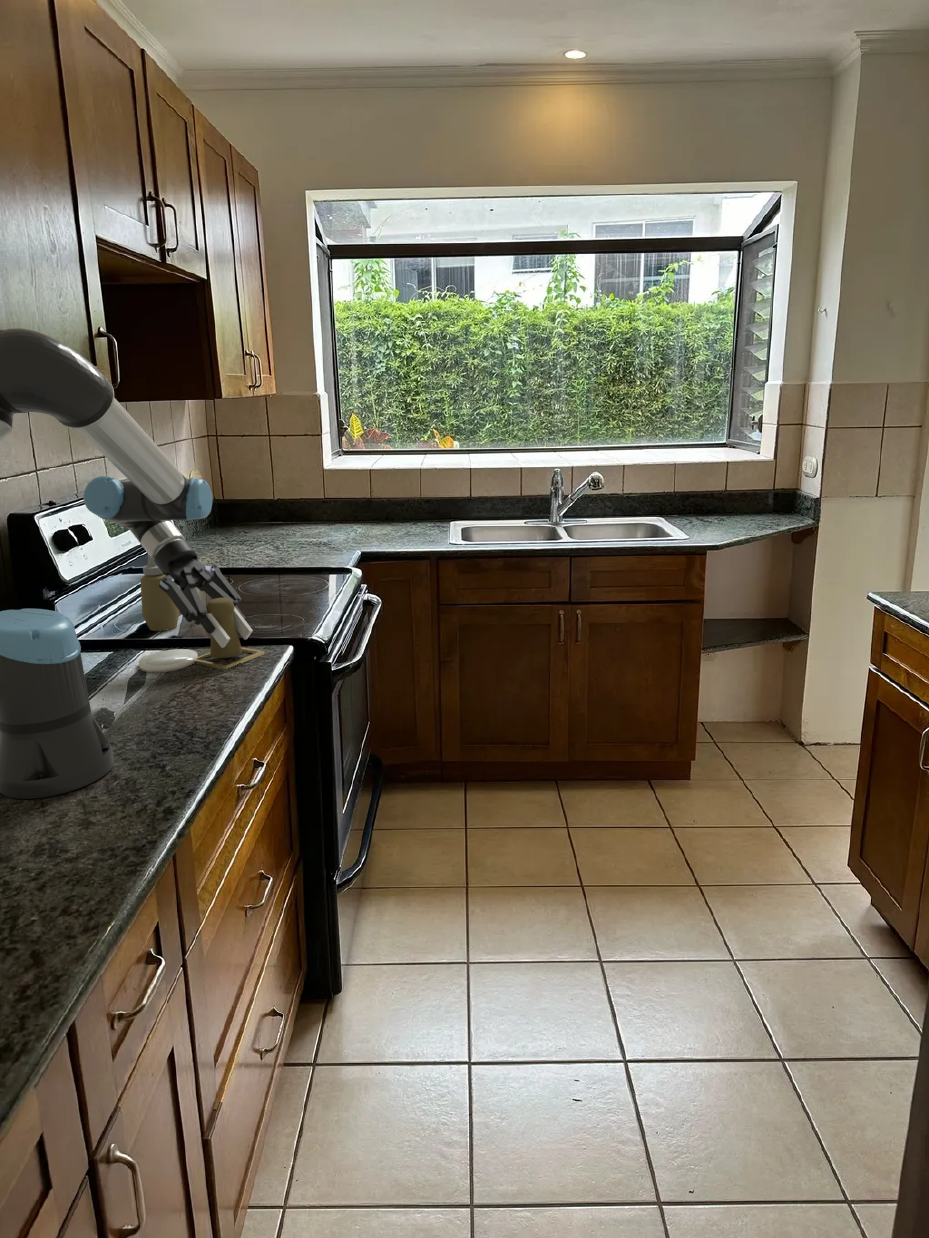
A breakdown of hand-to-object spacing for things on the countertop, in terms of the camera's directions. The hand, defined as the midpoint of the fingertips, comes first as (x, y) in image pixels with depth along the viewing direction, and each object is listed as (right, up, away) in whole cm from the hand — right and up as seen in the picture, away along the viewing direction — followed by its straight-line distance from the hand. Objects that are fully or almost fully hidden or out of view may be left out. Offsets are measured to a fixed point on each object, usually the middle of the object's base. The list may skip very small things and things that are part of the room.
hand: (237, 638), depth 162 cm
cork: (-3, -3, +3) cm, 5 cm away
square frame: (-3, -4, +3) cm, 6 cm away
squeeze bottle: (-24, +2, +27) cm, 36 cm away
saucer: (-14, -5, +3) cm, 15 cm away
